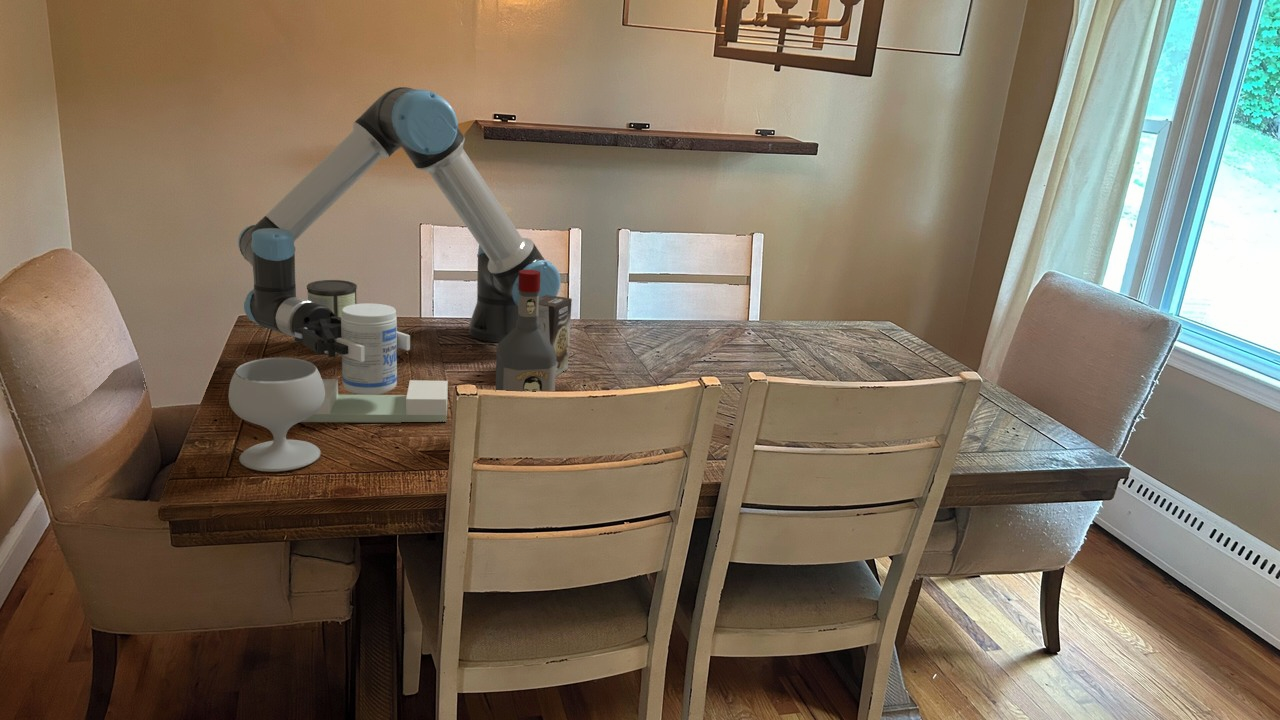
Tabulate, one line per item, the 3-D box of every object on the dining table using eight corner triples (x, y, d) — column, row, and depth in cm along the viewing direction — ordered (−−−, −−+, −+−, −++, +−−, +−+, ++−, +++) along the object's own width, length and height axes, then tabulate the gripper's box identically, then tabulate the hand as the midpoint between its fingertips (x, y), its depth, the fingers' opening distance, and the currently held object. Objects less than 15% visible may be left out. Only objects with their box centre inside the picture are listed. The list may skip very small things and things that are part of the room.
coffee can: (321, 338, 203) (319, 277, 199) (365, 343, 203) (364, 282, 198) (300, 351, 194) (298, 288, 189) (346, 356, 193) (345, 292, 189)
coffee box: (551, 381, 188) (554, 306, 183) (523, 375, 190) (526, 301, 185) (569, 369, 196) (573, 297, 191) (542, 364, 198) (545, 293, 193)
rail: (447, 402, 171) (447, 380, 170) (446, 422, 162) (446, 399, 161) (298, 401, 166) (298, 378, 165) (288, 422, 157) (287, 397, 156)
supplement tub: (396, 396, 159) (396, 317, 155) (340, 396, 157) (338, 316, 152) (397, 378, 168) (397, 302, 164) (344, 378, 166) (343, 301, 161)
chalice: (227, 479, 135) (220, 385, 130) (238, 442, 147) (232, 355, 143) (325, 473, 139) (322, 383, 134) (328, 438, 152) (325, 354, 147)
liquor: (491, 430, 160) (496, 266, 151) (541, 426, 164) (548, 265, 155) (503, 450, 152) (509, 278, 143) (555, 446, 156) (564, 278, 147)
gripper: (355, 329, 179) (433, 356, 168) (254, 351, 162) (333, 382, 150) (354, 293, 177) (433, 317, 165) (252, 311, 159) (332, 339, 148)
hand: (386, 348), depth 158 cm, fingers closed on supplement tub, 9 cm apart
